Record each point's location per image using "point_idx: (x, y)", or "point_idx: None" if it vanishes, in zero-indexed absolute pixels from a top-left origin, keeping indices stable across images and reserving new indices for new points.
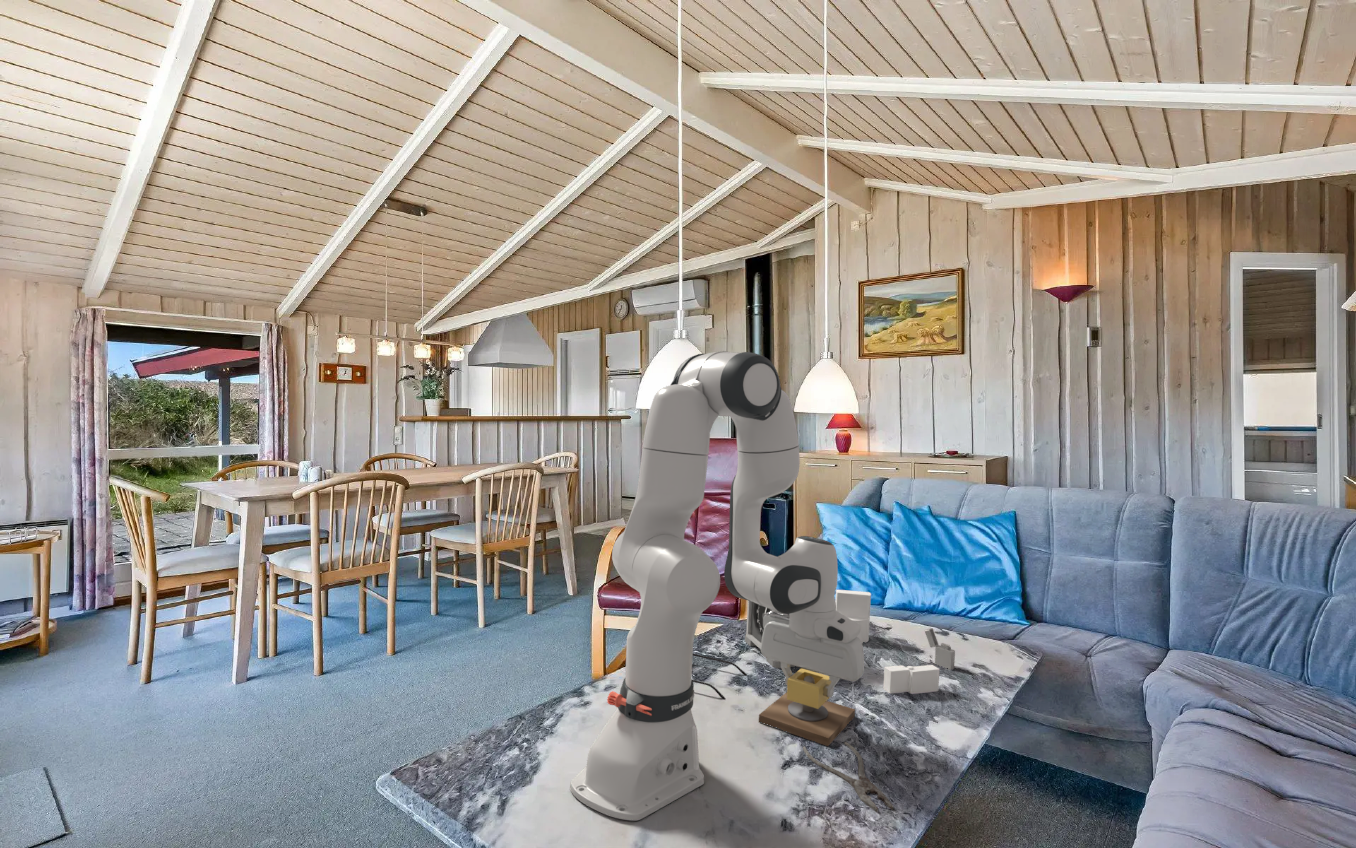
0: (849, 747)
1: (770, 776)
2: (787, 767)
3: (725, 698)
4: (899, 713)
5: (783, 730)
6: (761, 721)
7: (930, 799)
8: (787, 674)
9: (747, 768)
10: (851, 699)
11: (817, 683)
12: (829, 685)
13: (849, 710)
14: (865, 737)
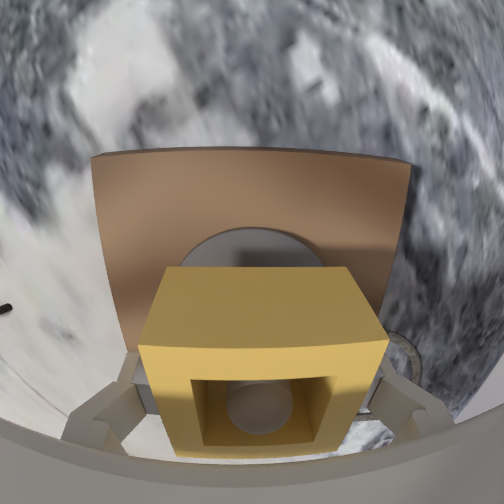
0: (396, 343)
1: (273, 461)
2: None
3: (9, 307)
4: (489, 62)
5: None
6: None
7: (490, 370)
8: (137, 423)
9: (233, 463)
10: (341, 9)
11: (321, 434)
12: (382, 422)
13: (395, 188)
14: (433, 272)
